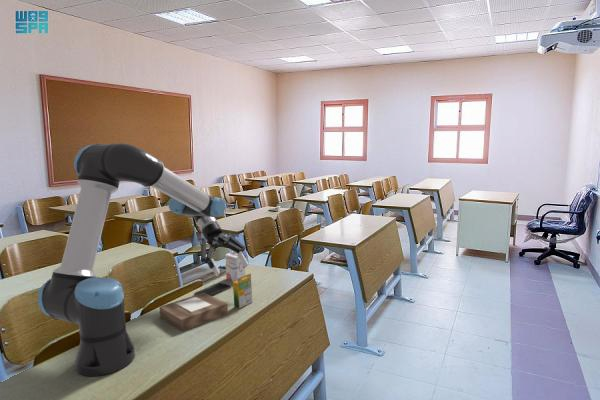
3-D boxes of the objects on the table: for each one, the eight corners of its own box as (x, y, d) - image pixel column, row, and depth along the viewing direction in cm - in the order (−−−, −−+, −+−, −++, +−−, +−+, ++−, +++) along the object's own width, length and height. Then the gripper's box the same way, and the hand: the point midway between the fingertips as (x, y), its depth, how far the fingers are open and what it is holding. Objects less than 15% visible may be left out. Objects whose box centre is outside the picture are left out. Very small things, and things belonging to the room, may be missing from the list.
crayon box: (247, 300, 154) (245, 271, 153) (252, 302, 153) (251, 273, 151) (233, 306, 148) (232, 277, 147) (239, 308, 147) (237, 278, 145)
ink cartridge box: (225, 279, 180) (224, 247, 178) (234, 276, 184) (232, 245, 182) (237, 283, 175) (235, 250, 173) (246, 280, 178) (244, 248, 176)
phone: (192, 293, 161) (219, 282, 174) (193, 296, 161) (219, 285, 174) (206, 297, 157) (232, 285, 169) (206, 299, 157) (232, 288, 169)
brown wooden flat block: (182, 331, 130) (181, 318, 129) (160, 317, 141) (159, 305, 140) (228, 314, 142) (227, 302, 142) (204, 302, 153) (203, 291, 153)
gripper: (231, 228, 174) (254, 267, 166) (179, 238, 157) (201, 283, 148) (237, 217, 169) (261, 257, 161) (185, 227, 152) (208, 272, 144)
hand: (233, 270), depth 155 cm, fingers open, 13 cm apart
